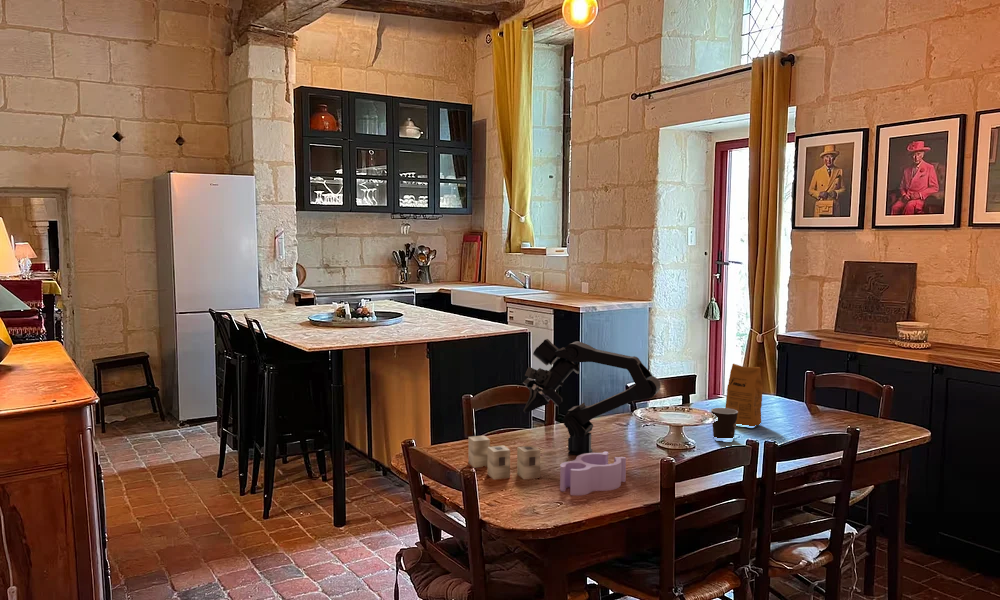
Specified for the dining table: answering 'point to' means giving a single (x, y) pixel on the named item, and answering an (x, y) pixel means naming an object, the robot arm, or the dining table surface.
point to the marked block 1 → (498, 462)
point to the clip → (592, 473)
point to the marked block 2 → (528, 462)
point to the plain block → (478, 451)
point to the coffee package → (745, 394)
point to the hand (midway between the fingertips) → (524, 411)
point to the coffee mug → (724, 422)
